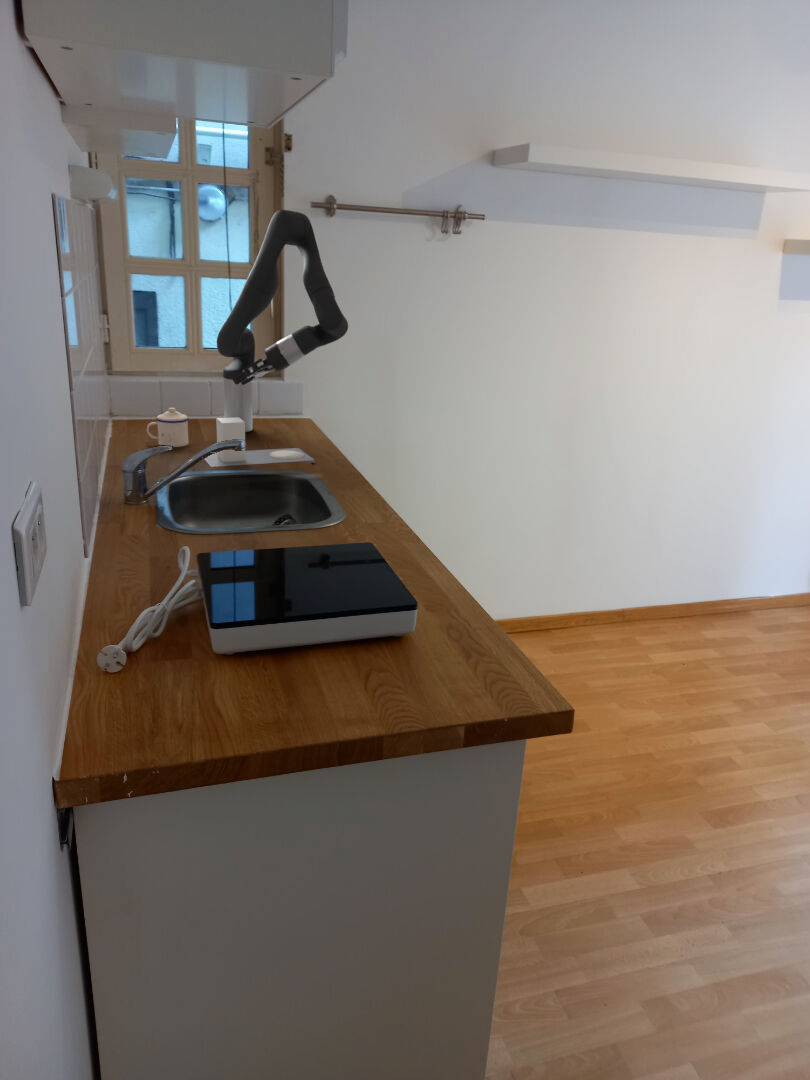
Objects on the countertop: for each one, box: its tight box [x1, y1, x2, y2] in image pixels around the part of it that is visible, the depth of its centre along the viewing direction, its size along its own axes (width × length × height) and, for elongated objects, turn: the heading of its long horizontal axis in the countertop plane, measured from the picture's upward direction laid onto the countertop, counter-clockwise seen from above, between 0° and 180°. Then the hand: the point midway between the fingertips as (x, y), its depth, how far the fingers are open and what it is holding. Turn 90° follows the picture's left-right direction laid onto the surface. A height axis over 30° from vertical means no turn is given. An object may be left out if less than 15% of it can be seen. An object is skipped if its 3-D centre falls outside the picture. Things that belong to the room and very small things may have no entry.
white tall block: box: [216, 417, 246, 462], centre depth 219 cm, size 6×6×11 cm
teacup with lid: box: [146, 407, 189, 448], centre depth 232 cm, size 12×9×12 cm
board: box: [203, 447, 316, 468], centre depth 225 cm, size 15×30×1 cm, turn 116°
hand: (237, 382), depth 225 cm, fingers open, 8 cm apart
